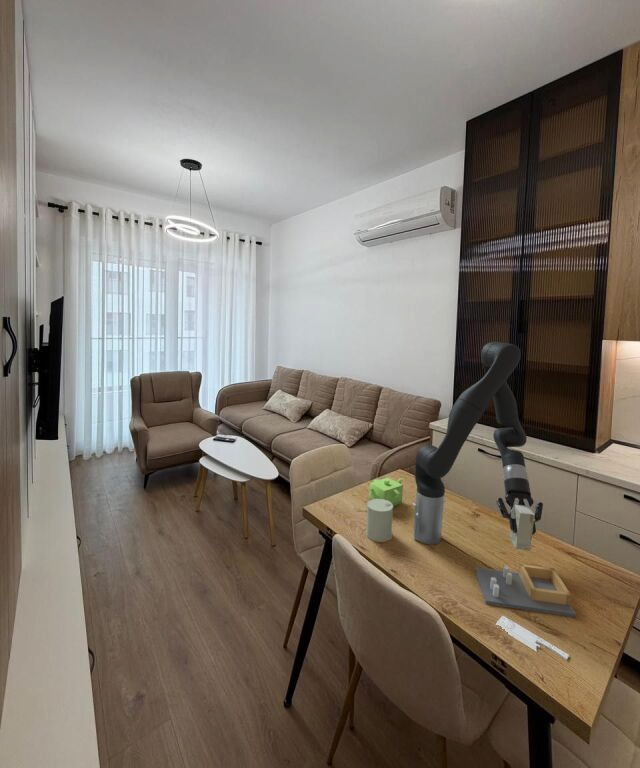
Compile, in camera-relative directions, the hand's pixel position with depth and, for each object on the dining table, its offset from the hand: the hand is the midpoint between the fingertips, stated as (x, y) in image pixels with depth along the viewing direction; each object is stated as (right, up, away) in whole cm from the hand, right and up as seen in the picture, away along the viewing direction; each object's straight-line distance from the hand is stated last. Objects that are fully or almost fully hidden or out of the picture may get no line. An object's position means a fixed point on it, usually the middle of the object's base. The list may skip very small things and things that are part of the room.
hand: (523, 533), depth 115 cm
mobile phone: (-17, -4, +41) cm, 45 cm away
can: (-43, -8, +17) cm, 47 cm away
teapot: (-36, -4, +39) cm, 53 cm away
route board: (-6, -13, -10) cm, 17 cm away
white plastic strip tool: (-13, -16, -26) cm, 33 cm away
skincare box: (0, -5, +3) cm, 6 cm away
